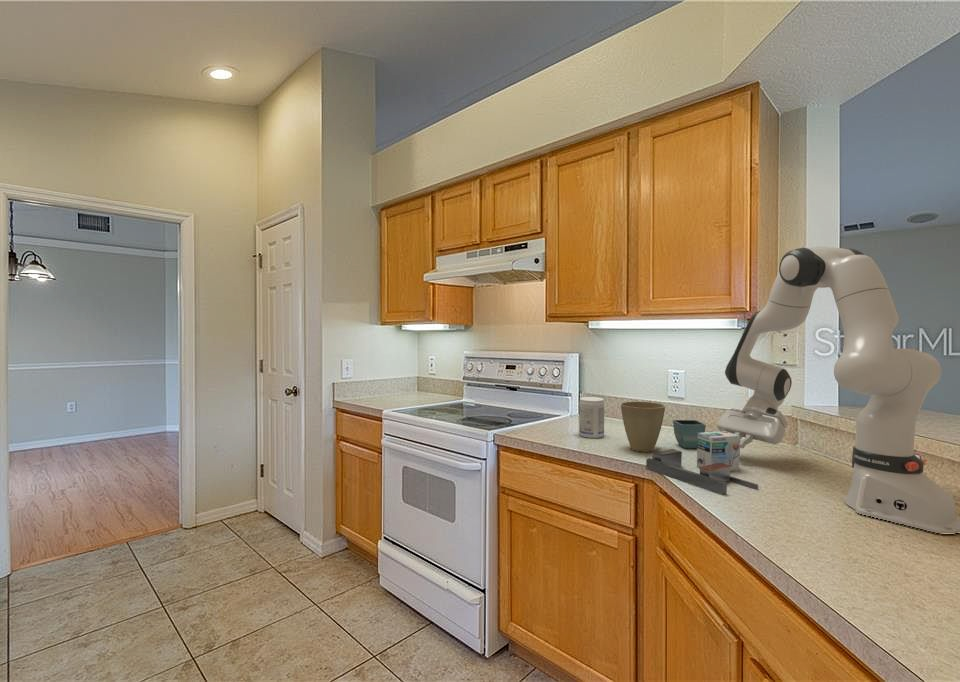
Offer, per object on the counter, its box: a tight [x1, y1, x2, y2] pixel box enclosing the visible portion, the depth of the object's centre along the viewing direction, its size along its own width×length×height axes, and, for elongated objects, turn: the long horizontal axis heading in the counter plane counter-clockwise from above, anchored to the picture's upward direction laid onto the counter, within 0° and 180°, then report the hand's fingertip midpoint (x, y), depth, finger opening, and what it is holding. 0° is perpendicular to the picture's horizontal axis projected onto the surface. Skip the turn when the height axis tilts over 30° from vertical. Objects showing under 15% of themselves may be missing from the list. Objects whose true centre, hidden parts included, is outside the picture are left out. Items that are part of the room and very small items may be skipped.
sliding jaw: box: [699, 463, 731, 483], centre depth 140 cm, size 3×9×4 cm, turn 119°
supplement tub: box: [578, 396, 605, 439], centre depth 195 cm, size 10×10×15 cm
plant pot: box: [620, 401, 666, 453], centre depth 175 cm, size 15×15×16 cm
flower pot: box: [672, 419, 707, 449], centre depth 179 cm, size 9×9×9 cm
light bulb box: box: [696, 430, 741, 472], centre depth 153 cm, size 11×7×11 cm, turn 106°
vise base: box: [645, 448, 759, 496], centre depth 144 cm, size 28×13×5 cm, turn 29°
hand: (737, 446), depth 158 cm, fingers closed
